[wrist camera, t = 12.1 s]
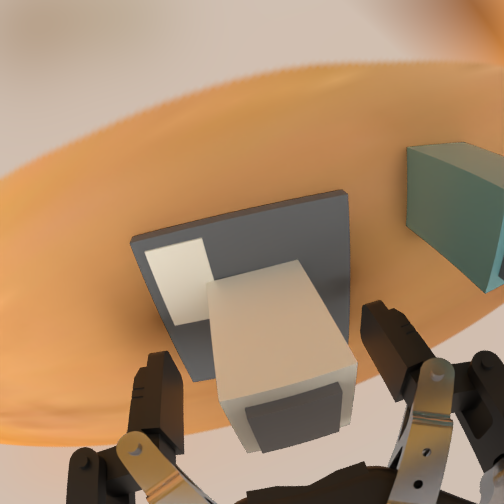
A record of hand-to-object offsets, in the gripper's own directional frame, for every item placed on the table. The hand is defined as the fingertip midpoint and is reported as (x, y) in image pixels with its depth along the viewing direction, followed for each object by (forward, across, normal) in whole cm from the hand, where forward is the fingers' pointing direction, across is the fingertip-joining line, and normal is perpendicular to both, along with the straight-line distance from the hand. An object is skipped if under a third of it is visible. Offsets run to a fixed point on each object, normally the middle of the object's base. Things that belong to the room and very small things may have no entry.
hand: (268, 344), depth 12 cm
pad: (+3, 0, 0) cm, 3 cm away
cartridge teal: (+3, -10, -4) cm, 11 cm away
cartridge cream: (+3, 0, 0) cm, 3 cm away
